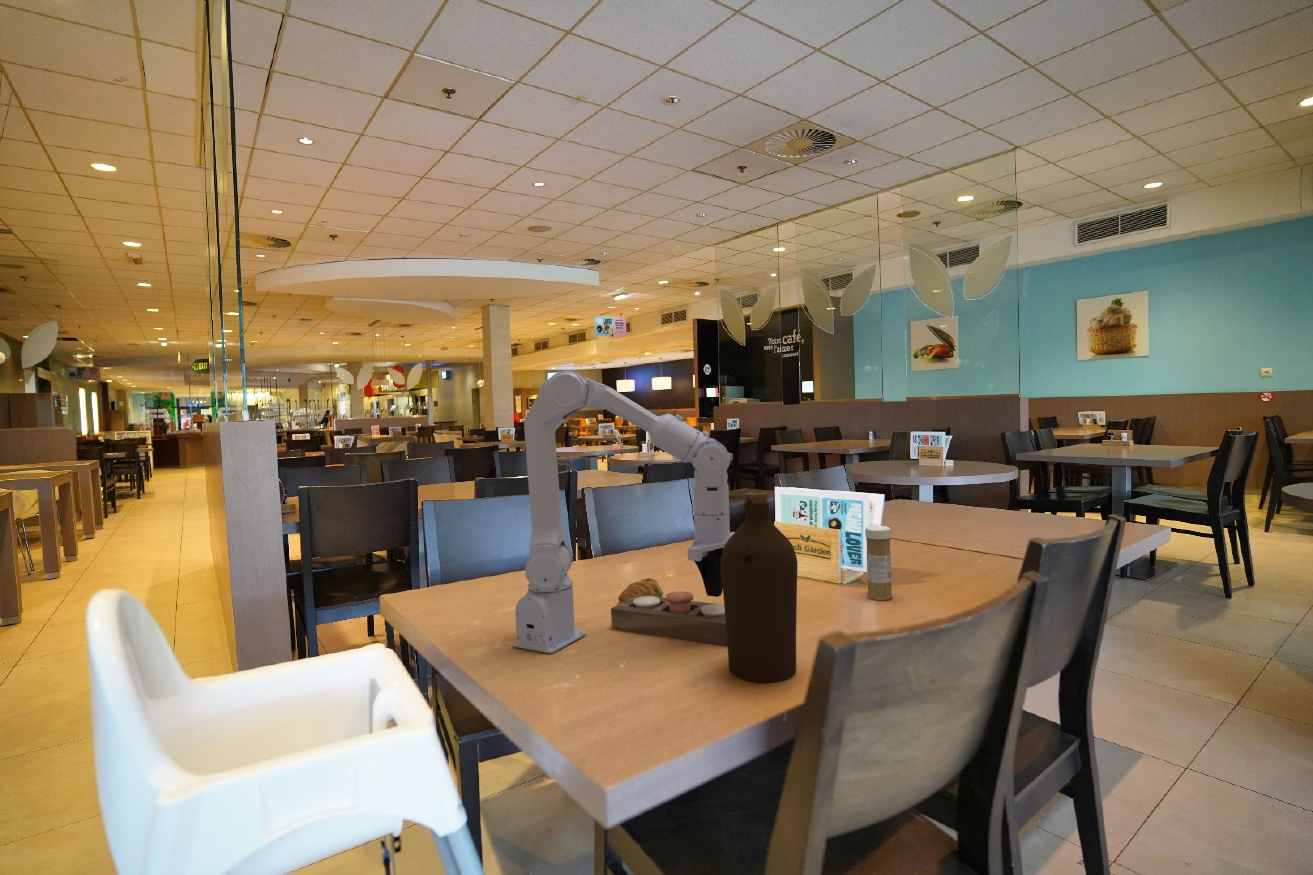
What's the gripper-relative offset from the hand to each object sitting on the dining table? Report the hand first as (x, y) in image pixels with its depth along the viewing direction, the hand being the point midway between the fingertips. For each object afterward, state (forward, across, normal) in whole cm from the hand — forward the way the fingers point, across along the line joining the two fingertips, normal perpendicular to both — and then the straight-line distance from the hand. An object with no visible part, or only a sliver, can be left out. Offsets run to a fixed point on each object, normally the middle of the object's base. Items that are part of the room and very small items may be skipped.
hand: (714, 595), depth 108 cm
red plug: (+5, 0, +6) cm, 8 cm away
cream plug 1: (+6, 0, +13) cm, 14 cm away
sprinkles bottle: (+6, +30, -21) cm, 37 cm away
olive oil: (+6, -11, -12) cm, 18 cm away
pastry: (+7, +12, +21) cm, 26 cm away
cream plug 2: (+6, 0, 0) cm, 6 cm away
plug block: (+6, 0, +6) cm, 9 cm away
